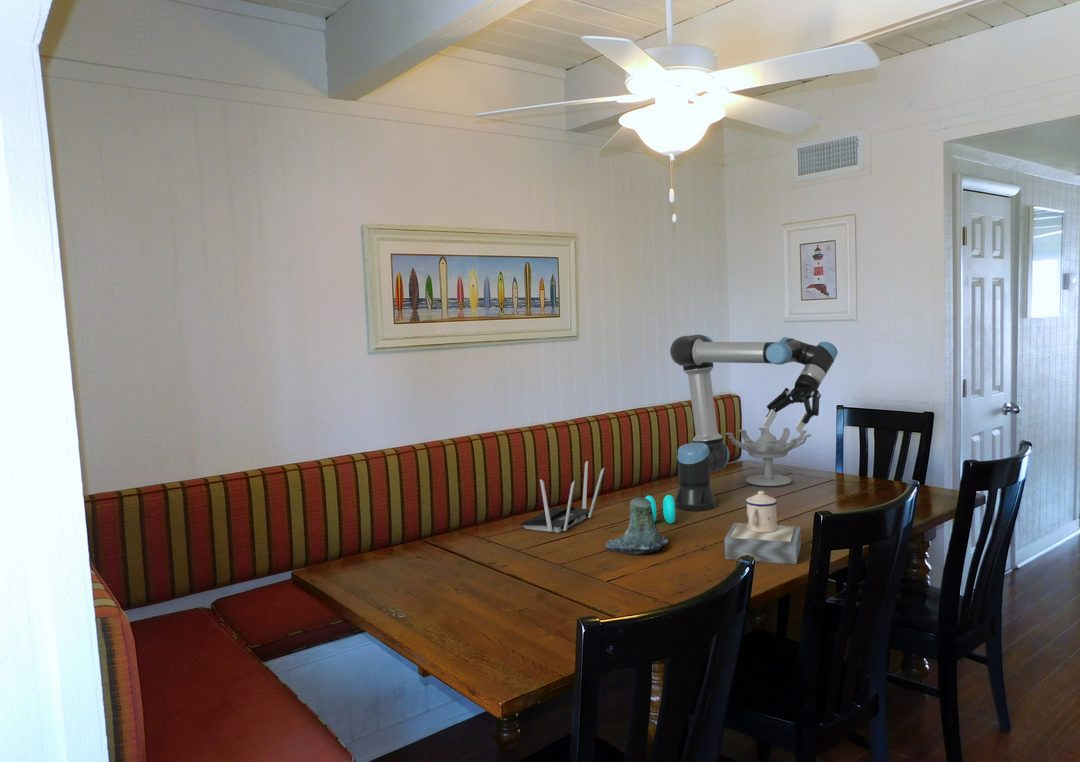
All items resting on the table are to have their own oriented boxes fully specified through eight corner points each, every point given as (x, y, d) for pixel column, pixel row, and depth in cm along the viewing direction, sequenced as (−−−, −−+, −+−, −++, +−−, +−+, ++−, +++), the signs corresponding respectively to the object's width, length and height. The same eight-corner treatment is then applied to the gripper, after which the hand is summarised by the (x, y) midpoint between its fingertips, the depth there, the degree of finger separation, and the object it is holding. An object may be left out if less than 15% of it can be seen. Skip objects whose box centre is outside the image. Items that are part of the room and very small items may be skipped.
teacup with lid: (754, 523, 236) (753, 486, 235) (782, 527, 230) (781, 489, 230) (737, 533, 227) (736, 494, 226) (766, 537, 221) (765, 498, 220)
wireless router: (559, 510, 291) (556, 459, 289) (613, 516, 279) (611, 462, 277) (511, 533, 262) (508, 476, 261) (569, 541, 250) (566, 481, 249)
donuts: (676, 526, 261) (675, 498, 260) (647, 527, 261) (646, 499, 261) (672, 519, 271) (672, 491, 270) (644, 520, 271) (643, 492, 271)
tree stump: (649, 536, 253) (656, 484, 248) (677, 569, 234) (685, 514, 229) (595, 540, 248) (601, 488, 242) (619, 574, 228) (626, 518, 223)
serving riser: (725, 558, 224) (724, 537, 223) (734, 541, 240) (733, 521, 240) (796, 564, 216) (795, 541, 216) (800, 545, 233) (800, 525, 232)
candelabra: (830, 486, 309) (828, 420, 307) (753, 495, 300) (751, 427, 298) (782, 471, 342) (780, 411, 340) (712, 479, 333) (710, 417, 331)
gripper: (845, 389, 254) (817, 438, 247) (785, 385, 275) (758, 431, 268) (835, 374, 251) (806, 424, 244) (775, 372, 272) (747, 418, 265)
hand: (781, 428), depth 256 cm, fingers open, 13 cm apart
